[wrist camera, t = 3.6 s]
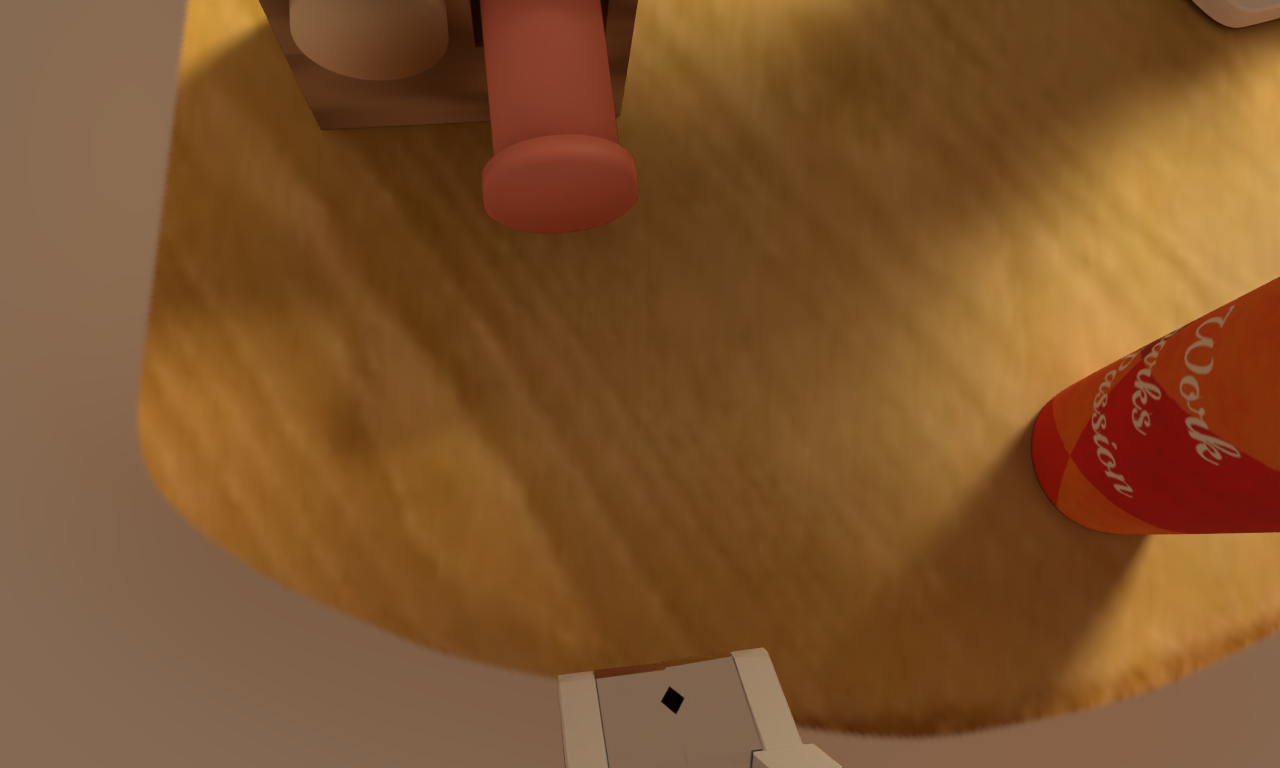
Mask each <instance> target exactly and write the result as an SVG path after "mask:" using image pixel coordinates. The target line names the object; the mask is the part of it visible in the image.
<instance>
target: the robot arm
mask: <svg viewBox="0 0 1280 768" xmlns="http://www.w3.org/2000/svg"><path fill="white" fill-rule="evenodd" d="M1192 1H1193V2H1194V3H1195V4H1196V5H1197V6H1198V7H1200V8H1201V9H1202V10H1203V11H1204V12H1205V13H1206V14H1208V15H1209V16H1210V17H1211V18H1213V19H1214V20H1216V21H1217V22H1219V23H1221V24H1223V25H1225V26H1228V27H1233V28H1239V27H1246V26H1250V25H1254V24H1258V23H1262V22H1266V21H1270V20H1274V19H1278V18H1280V0H1192ZM558 693H559V705H560V716H561V727H562V738H563V750H564V760H565V768H843V767H842V766H841V765H839V764H838V763H837V762H836V761H835V760H833V759H832V758H831V757H830V756H828V755H827V754H826V753H825V752H824V751H822V750H821V749H820V748H819V747H817V746H816V745H815V744H813V743H811V744H803V743H802V740H801V738H800V735H799V732H798V730H797V727H796V724H795V722H794V719H793V717H792V714H791V711H790V709H789V706H788V703H787V701H786V698H785V695H784V693H783V690H782V688H781V685H780V682H779V680H778V677H777V674H776V672H775V669H774V666H773V664H772V661H771V659H770V656H769V653H768V652H767V651H766V650H765V649H764V648H763V647H762V648H755V649H748V650H740V651H733V652H729V653H728V652H721V653H715V654H708V655H701V656H695V657H688V658H682V659H675V660H669V661H662V662H661V663H656V664H647V665H638V666H629V667H620V668H611V669H602V670H594V673H593V671H587V672H579V673H571V674H563V675H558Z"/></svg>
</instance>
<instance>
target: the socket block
mask: <svg viewBox="0 0 1280 768" xmlns="http://www.w3.org/2000/svg"><path fill="white" fill-rule="evenodd" d="M259 2H260V4H261V6H262V8H263V10H264V12H265V14H266V16H267V18H268V21H269V23H270V25H271V27H272V29H273V31H274V33H275V35H276V37H277V39H278V41H279V43H280V46H281V48H282V50H283V52H284V54H285V56H286V58H287V60H288V62H289V64H290V66H291V68H292V70H293V73H294V75H295V77H296V79H297V81H298V83H299V85H300V87H301V89H302V91H303V93H304V95H305V98H306V100H307V102H308V104H309V106H310V108H311V110H312V112H313V114H314V116H315V118H316V120H317V123H318V125H319V127H320V129H321V130H324V129H344V128H364V127H384V126H404V125H424V124H443V123H463V122H483V121H491V119H490V108H489V97H488V86H487V74H486V63H485V52H484V41H483V30H482V19H481V8H480V0H259ZM600 2H601V10H602V17H603V25H604V33H605V41H606V48H607V56H608V64H609V72H610V79H611V87H612V95H613V103H614V110H615V115H620V113H621V107H622V100H623V94H624V87H625V81H626V74H627V68H628V61H629V55H630V48H631V42H632V35H633V29H634V22H635V16H636V9H637V3H638V0H600Z"/></svg>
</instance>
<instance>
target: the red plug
mask: <svg viewBox="0 0 1280 768" xmlns="http://www.w3.org/2000/svg"><path fill="white" fill-rule="evenodd" d="M480 8H481V19H482V30H483V41H484V52H485V63H486V74H487V86H488V97H489V108H490V119H491V130H492V141H493V152H494V156H493V157H492V158H491V159H490V160H489V161H488V162H487V164H486V165H485V167H484V169H483V171H482V189H483V201H484V208H485V211H486V212H487V214H488V215H489V216H490V217H491V218H492V219H493V220H495V221H496V222H498V223H500V224H502V225H504V226H507V227H509V228H512V229H516V230H520V231H525V232H533V233H566V232H574V231H580V230H585V229H590V228H593V227H597V226H600V225H603V224H606V223H608V222H610V221H613V220H615V219H617V218H618V217H620V216H622V215H623V214H625V213H626V212H627V211H629V210H630V209H631V208H632V207H633V206H634V204H635V203H636V201H637V199H638V196H639V187H638V179H637V172H636V165H635V160H634V158H633V156H632V155H631V154H630V153H629V152H628V151H627V150H626V149H625V148H624V147H622V146H620V145H619V142H618V134H617V126H616V118H615V110H614V103H613V95H612V87H611V79H610V72H609V64H608V56H607V48H606V41H605V33H604V25H603V17H602V10H601V2H600V0H480Z"/></svg>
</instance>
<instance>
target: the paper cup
mask: <svg viewBox="0 0 1280 768" xmlns="http://www.w3.org/2000/svg"><path fill="white" fill-rule="evenodd" d="M1031 455H1032V462H1033V467H1034V470H1035V473H1036V476H1037V479H1038V481H1039V483H1040V485H1041V487H1042V489H1043V491H1044V492H1045V494H1046V495H1047V497H1048V498H1049V499H1050V501H1051V502H1052V503H1053V504H1054V505H1055V506H1056V508H1057V509H1058V510H1060V511H1061V512H1062V513H1063V514H1064V515H1065V516H1067V517H1068V518H1069V519H1071V520H1072V521H1074V522H1076V523H1077V524H1079V525H1081V526H1083V527H1086V528H1088V529H1091V530H1095V531H1099V532H1104V533H1112V534H1217V533H1266V532H1280V277H1278V278H1276V279H1274V280H1273V281H1271V282H1269V283H1267V284H1265V285H1263V286H1261V287H1259V288H1257V289H1255V290H1253V291H1251V292H1249V293H1247V294H1245V295H1243V296H1241V297H1239V298H1237V299H1235V300H1234V301H1232V302H1230V303H1228V304H1226V305H1224V306H1222V307H1220V308H1218V309H1216V310H1214V311H1212V312H1210V313H1208V314H1206V315H1204V316H1202V317H1200V318H1198V319H1196V320H1195V321H1193V322H1191V323H1189V324H1187V325H1185V326H1183V327H1181V328H1179V329H1177V330H1175V331H1173V332H1171V333H1169V334H1167V335H1165V336H1164V337H1162V338H1160V339H1158V340H1156V341H1154V342H1152V343H1150V344H1148V345H1146V346H1144V347H1142V348H1140V349H1138V350H1137V351H1135V352H1133V353H1131V354H1129V355H1127V356H1125V357H1123V358H1121V359H1119V360H1117V361H1116V362H1114V363H1112V364H1110V365H1108V366H1106V367H1104V368H1102V369H1100V370H1098V371H1097V372H1095V373H1093V374H1091V375H1089V376H1087V377H1086V378H1084V379H1082V380H1080V381H1078V382H1077V383H1075V384H1073V385H1071V386H1069V387H1068V388H1066V389H1065V390H1063V391H1061V392H1060V393H1058V394H1057V395H1056V396H1055V397H1053V398H1052V399H1051V400H1050V401H1049V402H1048V403H1047V404H1046V405H1045V407H1044V408H1043V409H1042V411H1041V412H1040V414H1039V416H1038V418H1037V420H1036V422H1035V425H1034V429H1033V433H1032V439H1031Z"/></svg>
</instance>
